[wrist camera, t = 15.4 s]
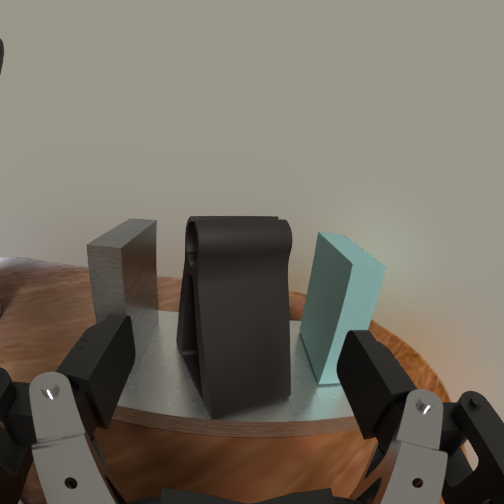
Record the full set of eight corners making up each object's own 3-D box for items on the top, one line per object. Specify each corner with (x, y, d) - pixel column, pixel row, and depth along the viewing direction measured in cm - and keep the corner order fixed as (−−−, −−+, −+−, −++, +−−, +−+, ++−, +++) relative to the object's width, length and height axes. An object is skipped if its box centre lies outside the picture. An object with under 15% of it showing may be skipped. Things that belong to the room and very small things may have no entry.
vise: (362, 428, 17) (425, 292, 13) (98, 415, 15) (57, 264, 12) (322, 336, 30) (345, 232, 26) (142, 323, 28) (137, 214, 25)
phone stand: (176, 344, 23) (176, 204, 19) (238, 334, 26) (251, 205, 22) (211, 422, 15) (219, 240, 12) (290, 398, 18) (327, 237, 14)
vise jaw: (360, 381, 20) (400, 267, 17) (318, 384, 19) (352, 264, 16) (333, 329, 27) (355, 236, 24) (299, 329, 27) (318, 232, 24)
